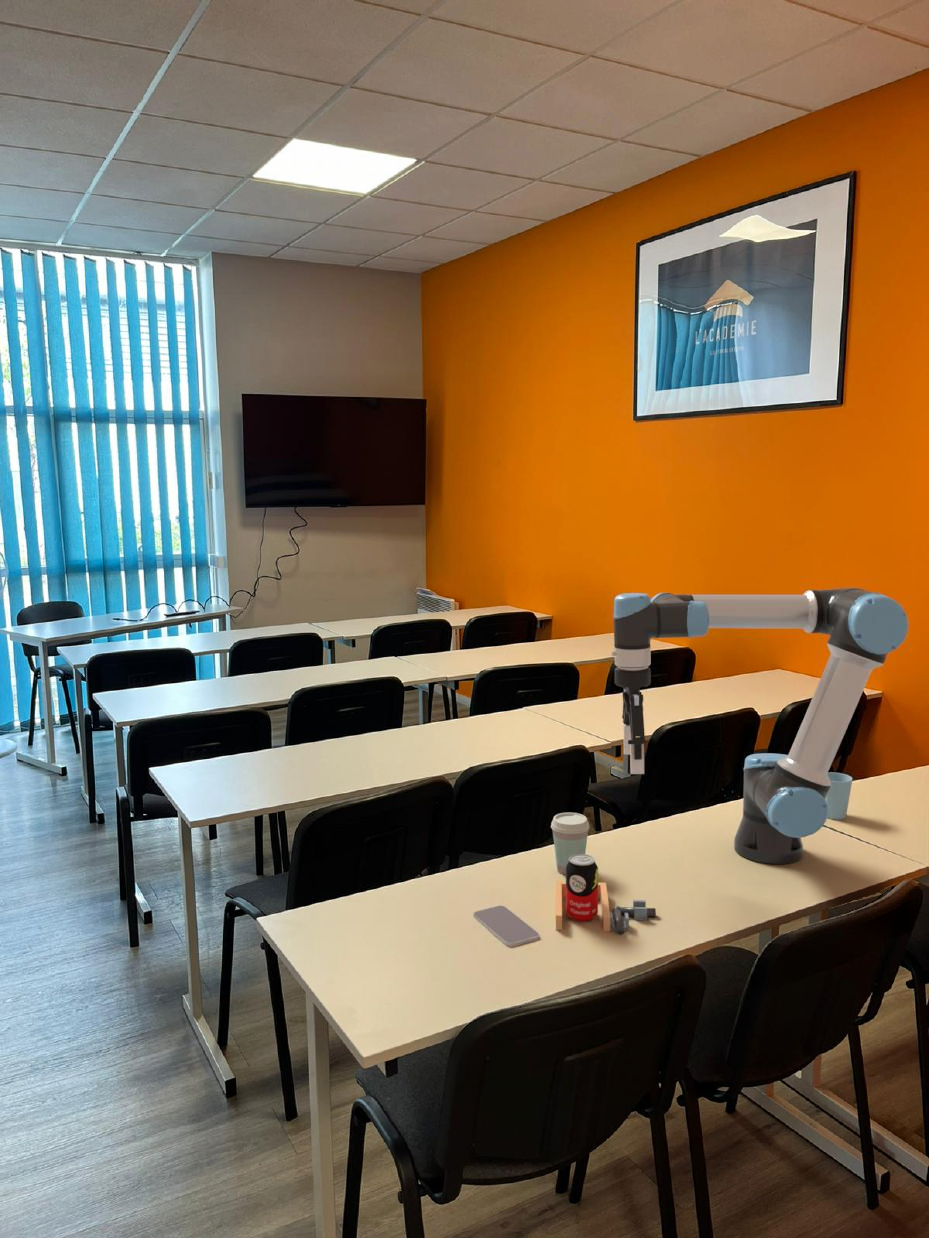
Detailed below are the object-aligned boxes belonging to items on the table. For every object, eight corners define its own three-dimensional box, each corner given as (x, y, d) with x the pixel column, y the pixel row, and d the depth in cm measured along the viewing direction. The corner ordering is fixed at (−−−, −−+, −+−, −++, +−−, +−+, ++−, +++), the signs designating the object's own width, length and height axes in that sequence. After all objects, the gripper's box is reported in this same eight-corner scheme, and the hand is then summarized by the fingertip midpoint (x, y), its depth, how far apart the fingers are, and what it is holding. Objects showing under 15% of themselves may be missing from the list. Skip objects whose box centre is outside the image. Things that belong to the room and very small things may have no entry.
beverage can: (560, 912, 181) (560, 856, 179) (587, 906, 183) (587, 850, 181) (576, 926, 175) (576, 868, 173) (603, 919, 177) (604, 862, 175)
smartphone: (503, 904, 184) (541, 935, 170) (503, 908, 184) (542, 939, 171) (470, 912, 180) (508, 944, 167) (471, 916, 180) (508, 949, 167)
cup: (835, 823, 225) (837, 783, 224) (811, 813, 232) (813, 775, 230) (857, 818, 228) (859, 778, 227) (832, 809, 235) (834, 770, 234)
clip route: (654, 911, 180) (654, 900, 180) (659, 935, 170) (660, 924, 170) (607, 910, 181) (607, 899, 181) (610, 934, 171) (610, 922, 171)
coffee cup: (588, 862, 204) (588, 811, 203) (590, 878, 196) (590, 825, 194) (551, 861, 205) (550, 811, 204) (550, 877, 197) (550, 825, 195)
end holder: (605, 896, 187) (605, 882, 187) (610, 931, 172) (610, 917, 172) (555, 894, 188) (555, 881, 188) (555, 929, 173) (555, 915, 173)
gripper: (609, 655, 202) (610, 746, 205) (620, 679, 178) (621, 782, 181) (643, 655, 202) (643, 746, 205) (658, 678, 177) (659, 782, 180)
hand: (633, 763), depth 193 cm, fingers open, 13 cm apart
